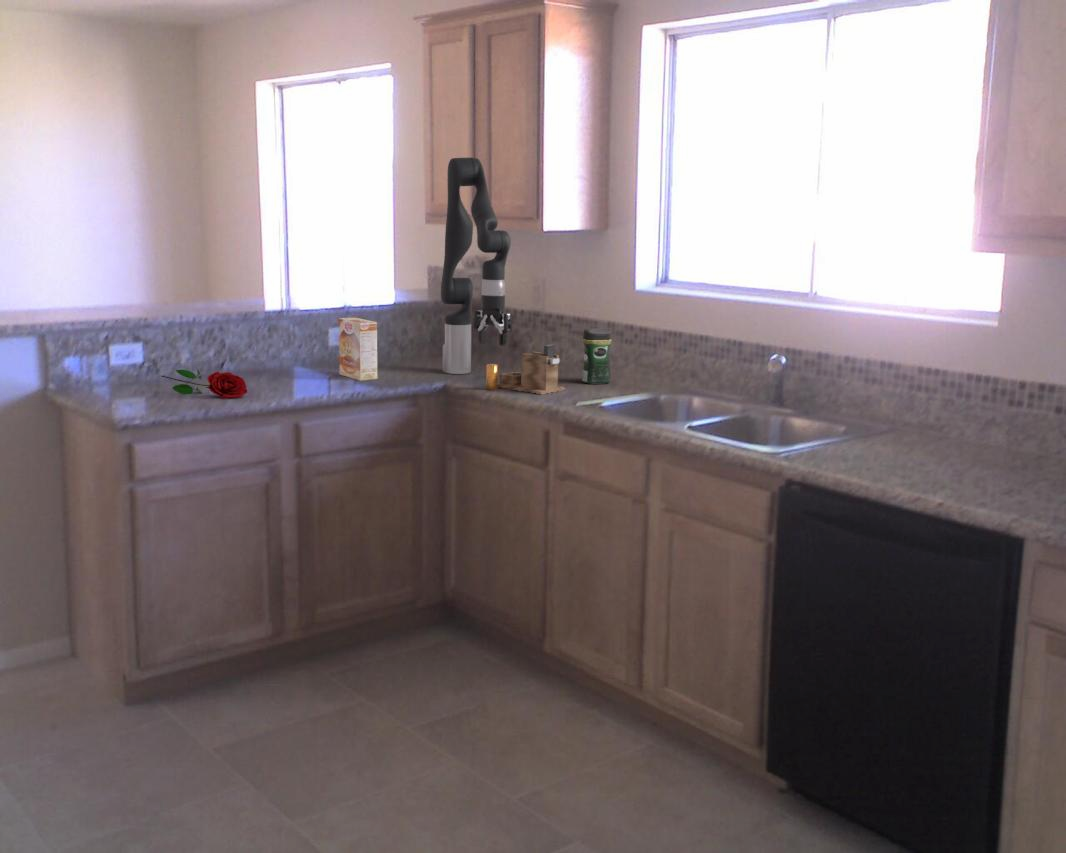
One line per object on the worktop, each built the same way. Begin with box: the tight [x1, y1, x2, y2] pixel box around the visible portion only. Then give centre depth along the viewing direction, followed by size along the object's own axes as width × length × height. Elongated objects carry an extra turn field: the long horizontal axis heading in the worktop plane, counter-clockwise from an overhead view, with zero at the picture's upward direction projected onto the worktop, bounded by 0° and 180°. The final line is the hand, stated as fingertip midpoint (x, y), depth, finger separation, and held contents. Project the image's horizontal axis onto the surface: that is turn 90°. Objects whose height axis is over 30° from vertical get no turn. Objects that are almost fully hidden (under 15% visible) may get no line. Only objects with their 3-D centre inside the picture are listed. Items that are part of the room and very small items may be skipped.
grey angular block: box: [533, 344, 561, 364], centre depth 365 cm, size 12×3×6 cm, turn 50°
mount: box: [497, 351, 566, 395], centre depth 370 cm, size 22×12×12 cm, turn 50°
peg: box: [485, 363, 499, 391], centre depth 367 cm, size 4×4×8 cm
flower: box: [160, 368, 248, 399], centre depth 346 cm, size 9×9×30 cm
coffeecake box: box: [338, 317, 378, 381], centre depth 383 cm, size 15×7×20 cm, turn 37°
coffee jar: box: [581, 327, 612, 385], centre depth 383 cm, size 10×8×19 cm
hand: (492, 344), depth 365 cm, fingers open, 8 cm apart
